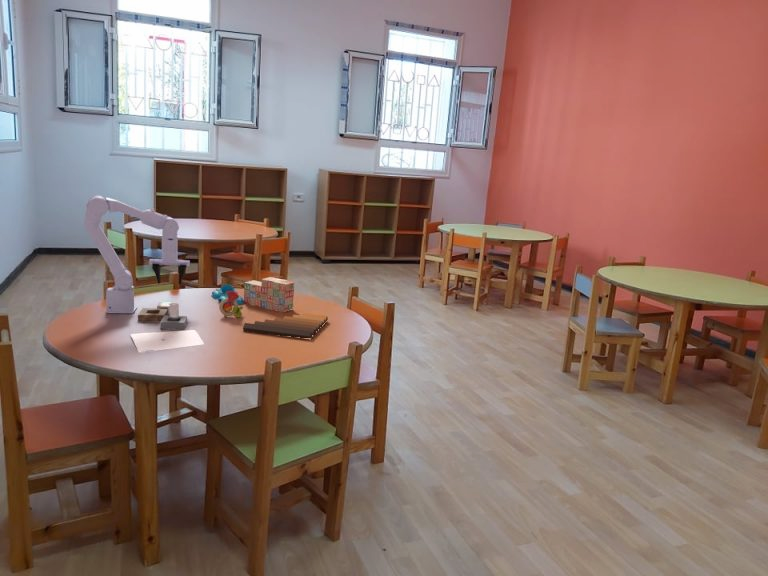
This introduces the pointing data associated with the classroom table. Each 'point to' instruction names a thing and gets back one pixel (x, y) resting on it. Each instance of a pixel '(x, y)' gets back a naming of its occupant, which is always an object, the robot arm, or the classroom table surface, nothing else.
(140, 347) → the paper sheet
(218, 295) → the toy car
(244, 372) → the classroom table surface
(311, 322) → the pan flute
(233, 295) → the bird rattle
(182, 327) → the block
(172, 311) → the steel peg
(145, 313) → the socket block
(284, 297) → the stack of blocks
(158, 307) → the block
